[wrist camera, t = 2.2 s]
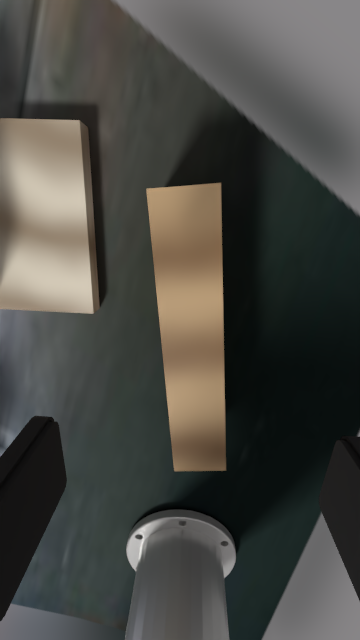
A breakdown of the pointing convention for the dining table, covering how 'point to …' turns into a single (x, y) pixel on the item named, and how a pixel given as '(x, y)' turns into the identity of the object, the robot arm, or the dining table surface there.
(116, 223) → the dining table surface
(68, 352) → the dining table surface
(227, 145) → the dining table surface
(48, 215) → the ridge stand
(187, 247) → the oak beam
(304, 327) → the dining table surface
